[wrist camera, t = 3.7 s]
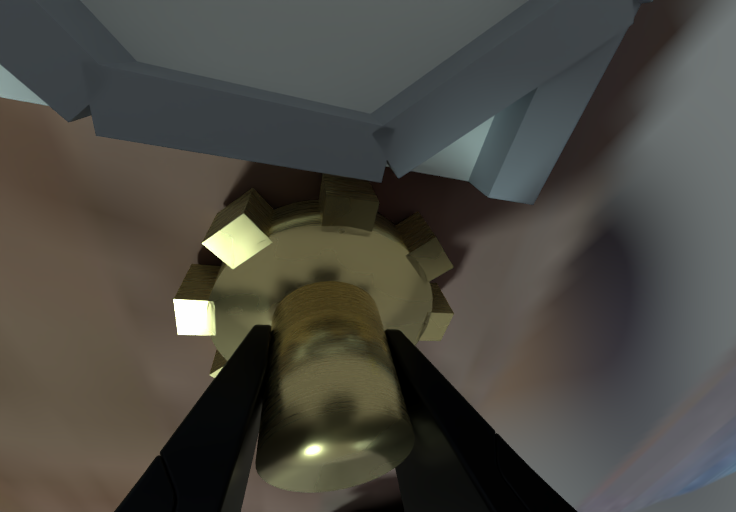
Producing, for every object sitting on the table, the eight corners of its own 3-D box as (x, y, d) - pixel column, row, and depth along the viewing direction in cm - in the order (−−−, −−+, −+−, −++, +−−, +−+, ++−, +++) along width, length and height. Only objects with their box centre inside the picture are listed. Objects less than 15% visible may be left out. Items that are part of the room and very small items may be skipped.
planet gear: (200, 366, 11) (138, 556, 7) (182, 148, 7) (18, 287, 3) (401, 366, 13) (446, 513, 9) (473, 196, 9) (613, 319, 5)
